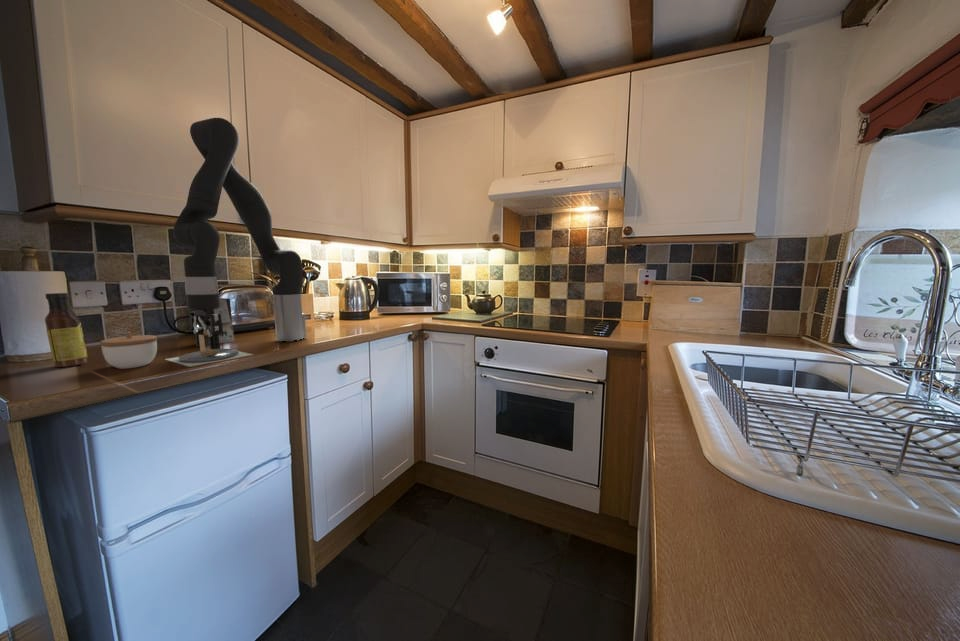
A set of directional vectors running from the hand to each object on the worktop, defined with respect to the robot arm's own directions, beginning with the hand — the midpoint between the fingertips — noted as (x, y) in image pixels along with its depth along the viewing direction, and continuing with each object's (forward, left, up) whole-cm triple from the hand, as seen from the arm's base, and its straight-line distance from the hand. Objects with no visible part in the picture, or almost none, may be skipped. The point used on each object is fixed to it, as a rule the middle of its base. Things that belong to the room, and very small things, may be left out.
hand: (208, 347), depth 103 cm
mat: (0, 0, -3) cm, 3 cm away
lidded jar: (+15, -7, -4) cm, 17 cm away
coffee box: (-13, -25, -4) cm, 28 cm away
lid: (0, 0, -3) cm, 3 cm away
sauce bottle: (+23, -24, -4) cm, 33 cm away
